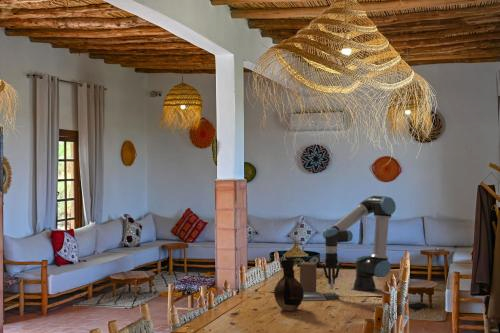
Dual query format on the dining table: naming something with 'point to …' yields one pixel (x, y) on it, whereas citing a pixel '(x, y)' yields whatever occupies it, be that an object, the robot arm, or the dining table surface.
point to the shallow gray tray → (313, 296)
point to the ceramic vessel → (288, 288)
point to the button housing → (331, 296)
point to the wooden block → (308, 276)
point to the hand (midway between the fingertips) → (331, 289)
